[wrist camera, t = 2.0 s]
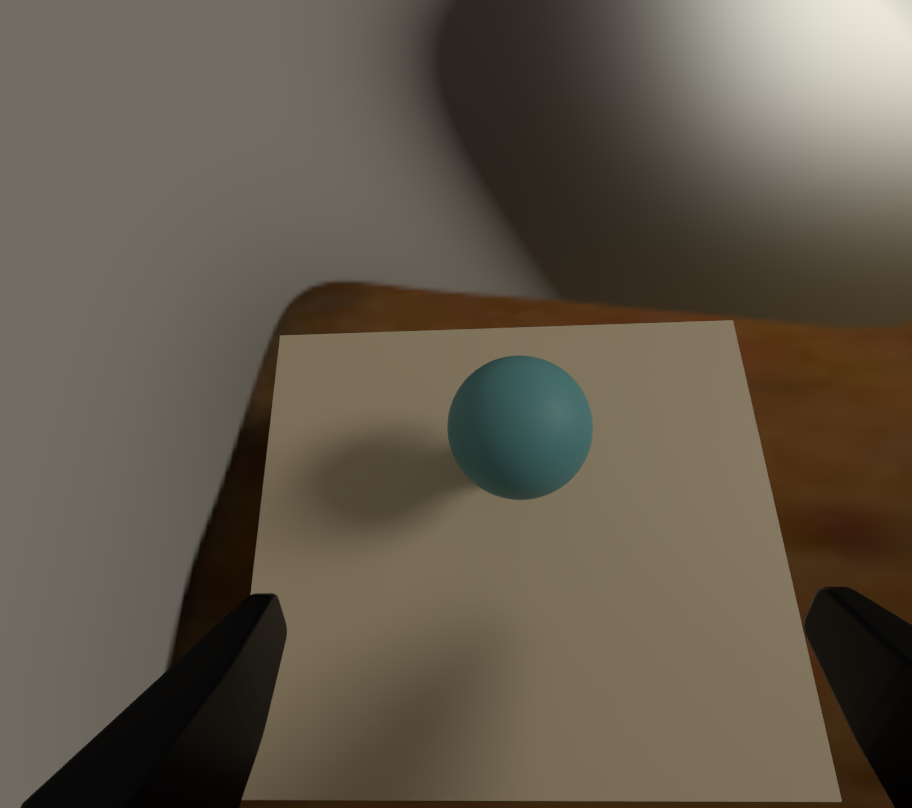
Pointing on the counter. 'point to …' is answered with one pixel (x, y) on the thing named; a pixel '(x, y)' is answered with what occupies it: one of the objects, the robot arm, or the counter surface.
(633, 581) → the carton lid
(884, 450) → the counter surface
